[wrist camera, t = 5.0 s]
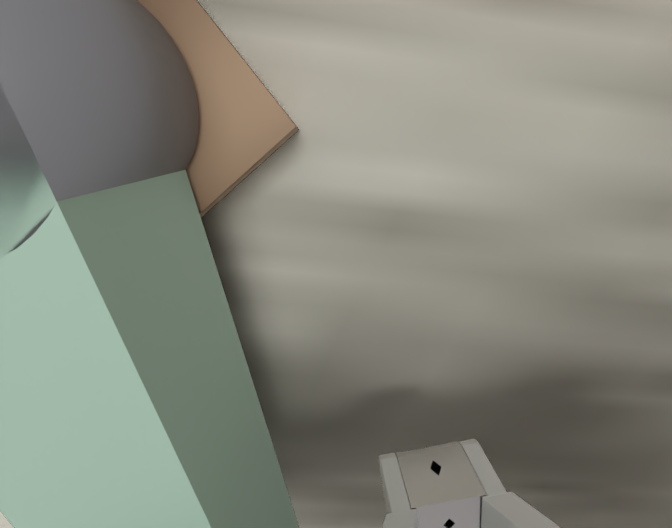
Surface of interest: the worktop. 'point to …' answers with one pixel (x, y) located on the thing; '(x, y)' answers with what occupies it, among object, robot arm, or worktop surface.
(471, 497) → the robot arm
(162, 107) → the hinged leg
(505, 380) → the worktop surface
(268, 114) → the stool seat
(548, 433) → the worktop surface
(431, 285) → the worktop surface
